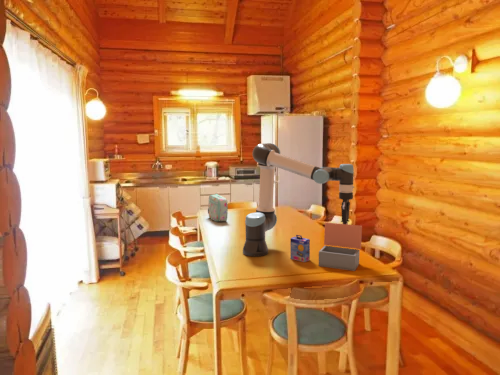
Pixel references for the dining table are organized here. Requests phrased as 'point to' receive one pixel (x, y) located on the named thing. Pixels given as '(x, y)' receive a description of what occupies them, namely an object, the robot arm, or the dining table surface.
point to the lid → (343, 235)
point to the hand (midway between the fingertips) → (344, 233)
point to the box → (339, 258)
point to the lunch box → (217, 208)
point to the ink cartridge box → (300, 249)
